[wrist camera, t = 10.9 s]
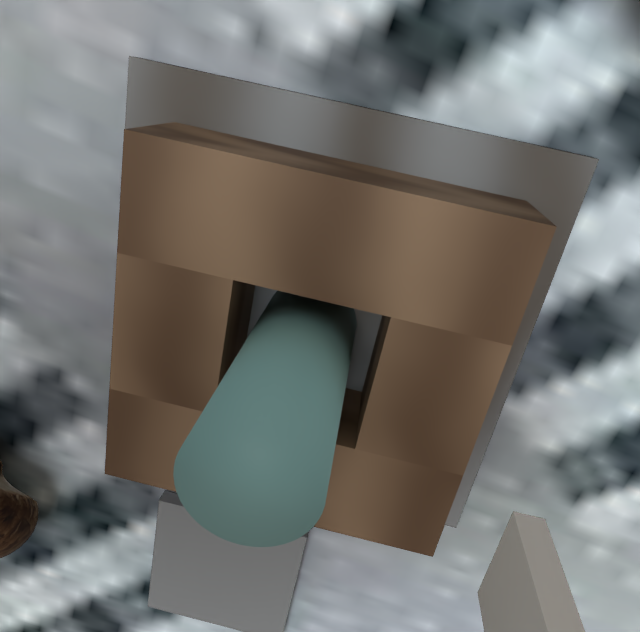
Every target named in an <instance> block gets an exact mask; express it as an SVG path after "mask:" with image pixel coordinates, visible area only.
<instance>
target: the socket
mask: <svg viewBox="0 0 640 632" xmlns="http://www.w3.org/2000/svg"><path fill="white" fill-rule="evenodd" d="M598 161H599V159H596V158H593V157H589V156H585V155H580V154H576V153H571V152H567V151H562V150H557V149H553V148H548V147H544V146H539V145H535V144H530V143H526V142H521V141H516V140H512V139H507V138H503V137H498V136H494V135H489V134H485V133H480V132H475V131H471V130H466V129H462V128H457V127H453V126H448V125H444V124H439V123H434V122H430V121H425V120H421V119H416V118H412V117H407V116H403V115H398V114H393V113H389V112H384V111H380V110H375V109H371V108H366V107H362V106H357V105H352V104H348V103H343V102H339V101H334V100H330V99H325V98H321V97H316V96H311V95H307V94H302V93H298V92H293V91H289V90H284V89H280V88H275V87H270V86H266V85H261V84H257V83H252V82H248V81H243V80H239V79H234V78H229V77H225V76H220V75H216V74H211V73H207V72H202V71H198V70H193V69H188V68H184V67H179V66H175V65H170V64H166V63H161V62H156V61H152V60H147V59H143V58H138V57H131V56H129V67H128V84H127V102H126V119H125V129H124V142H123V160H122V177H121V195H120V213H119V230H118V248H117V266H116V283H115V301H114V319H113V336H112V354H111V372H110V389H109V407H108V424H107V442H106V460H105V474H108V475H112V476H116V477H120V478H124V479H127V480H131V481H135V482H139V483H143V484H147V485H151V486H155V487H159V488H163V489H167V490H171V491H175V492H176V488H175V485H174V477H173V472H174V463H175V459H176V456H177V454H178V451H179V450H180V448H181V446H182V444H183V443H184V441H185V440H186V438H187V436H188V435H189V433H190V431H191V430H192V428H193V426H194V425H195V423H196V421H197V420H198V418H199V417H200V415H201V413H202V412H203V410H204V408H205V407H206V405H207V403H208V402H209V400H210V399H211V397H212V395H213V394H214V392H215V390H216V389H217V387H218V385H219V384H220V382H221V380H222V379H223V377H224V376H225V374H226V372H227V371H228V369H229V367H230V366H231V364H232V362H233V361H234V359H235V357H236V356H237V354H238V353H239V351H240V349H241V348H242V346H243V344H244V343H245V341H246V339H247V338H248V336H249V334H250V333H251V331H252V330H253V328H254V326H255V325H256V323H257V321H258V320H259V318H260V316H261V315H262V313H263V311H264V310H265V308H266V307H267V305H268V303H269V302H270V300H271V298H272V297H273V295H274V294H275V293H276V292H277V291H282V292H286V293H290V294H294V295H299V296H303V297H307V298H311V299H316V300H320V301H324V302H328V303H333V304H337V305H341V306H345V307H350V308H354V310H355V314H356V321H357V325H356V332H355V338H354V344H353V349H352V355H351V361H350V366H349V372H348V378H347V383H346V389H345V395H344V400H343V406H342V412H341V417H340V423H339V429H338V435H337V440H336V446H335V452H334V457H333V463H332V469H331V474H330V480H329V486H328V491H327V497H326V503H325V507H324V510H323V513H322V515H321V517H320V518H319V520H318V521H317V523H316V524H315V525H314V527H317V528H321V529H325V530H329V531H333V532H337V533H341V534H345V535H349V536H353V537H357V538H361V539H365V540H369V541H373V542H377V543H381V544H384V545H388V546H392V547H396V548H400V549H404V550H408V551H412V552H416V553H420V554H424V555H428V556H432V557H433V555H434V552H435V549H436V547H437V544H438V541H439V539H440V536H441V533H442V531H443V528H444V525H447V526H451V527H455V528H456V527H457V524H458V522H459V519H460V516H461V514H462V511H463V509H464V506H465V504H466V501H467V498H468V496H469V493H470V491H471V488H472V486H473V483H474V480H475V478H476V475H477V473H478V470H479V468H480V465H481V462H482V460H483V457H484V455H485V452H486V449H487V447H488V444H489V442H490V439H491V437H492V434H493V431H494V429H495V426H496V424H497V421H498V419H499V416H500V413H501V411H502V408H503V406H504V403H505V400H506V398H507V395H508V393H509V390H510V388H511V385H512V382H513V380H514V377H515V375H516V372H517V370H518V367H519V364H520V362H521V359H522V357H523V354H524V352H525V349H526V346H527V344H528V341H529V339H530V336H531V333H532V331H533V328H534V326H535V323H536V321H537V318H538V315H539V313H540V310H541V308H542V305H543V303H544V300H545V297H546V295H547V292H548V290H549V287H550V284H551V282H552V279H553V277H554V274H555V272H556V269H557V266H558V264H559V261H560V259H561V256H562V254H563V251H564V248H565V246H566V243H567V241H568V238H569V235H570V233H571V230H572V228H573V225H574V223H575V220H576V217H577V215H578V212H579V210H580V207H581V205H582V202H583V199H584V197H585V194H586V192H587V189H588V187H589V184H590V181H591V179H592V176H593V174H594V171H595V168H596V166H597V163H598Z"/></svg>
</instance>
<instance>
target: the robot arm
mask: <svg viewBox="0 0 640 632" xmlns="http://www.w3.org/2000/svg"><path fill="white" fill-rule="evenodd" d="M478 597H479V603H480V609H481V615H482V621H483V626H484V632H585V630H584V627H583V624H582V622H581V619H580V616H579V613H578V610H577V608H576V605H575V602H574V599H573V596H572V594H571V591H570V588H569V585H568V582H567V579H566V577H565V574H564V571H563V568H562V565H561V563H560V560H559V557H558V554H557V551H556V549H555V546H554V543H553V540H552V537H551V534H550V532H549V529H548V526H547V523H546V520H545V519H543V518H539V517H535V516H530V515H526V514H522V513H518V512H514V511H513V513H512V515H511V518H510V520H509V522H508V524H507V527H506V529H505V531H504V534H503V536H502V538H501V540H500V543H499V545H498V547H497V549H496V552H495V554H494V556H493V559H492V561H491V563H490V565H489V568H488V570H487V572H486V574H485V577H484V579H483V581H482V584H481V586H480V588H479V590H478Z"/></svg>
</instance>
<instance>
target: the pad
mask: <svg viewBox="0 0 640 632" xmlns="http://www.w3.org/2000/svg"><path fill="white" fill-rule="evenodd" d="M307 535H308V532H307V533H306V534H304V535H303V536H301V537H300V538H298V539H296V540H294V541H292V542H289V543H286V544H283V545H278V546H272V547H251V546H244V545H239V544H236V543H232V542H229V541H227V540H224V539H222V538H220V537H218V536H216V535H214V534H212V533H211V532H209V531H208V530H206V529H205V528H203V527H202V526H201V525H200V524H199V523H197V522H196V521H195V520H194V519H193V518H192V517H191V516H190V514H189V513H188V512H187V510H186V509H185V508H184V506H183V504H182V503H181V501H180V499H179V497H178V494H177V493H173V492H169V491H164V493H163V495H162V496H161V498H160V500H159V506H158V515H157V524H156V534H155V543H154V552H153V562H152V571H151V580H150V589H149V599H148V607H152V608H156V609H160V610H164V611H167V612H171V613H175V614H179V615H183V616H186V617H190V618H194V619H198V620H202V621H205V622H209V623H213V624H217V625H221V626H224V627H228V628H232V629H236V630H240V631H244V632H283V631H284V627H285V623H286V619H287V615H288V611H289V607H290V603H291V599H292V595H293V591H294V588H295V584H296V580H297V576H298V572H299V568H300V564H301V560H302V556H303V552H304V548H305V544H306V540H307Z"/></svg>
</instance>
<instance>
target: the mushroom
mask: <svg viewBox="0 0 640 632" xmlns="http://www.w3.org/2000/svg"><path fill="white" fill-rule="evenodd" d="M2 468H3V463H2V462H1V461H0V558H2V557H4V556H6V555H9V554H11V553H12V552H14V551H15V550H17V549H18V548H20V547H21V546H22V545H23V544H24V543H25V542H26V541H27V540H28V538H29V537H30V536H31V534H32V533H33V531H34V529H35V526H36V524H37V520H38V505H37V502H36V501H35V500H33V499H32V498H31V497H29V496H28V495H26V494H24V493H22V492H20V491H19V490H17V489H16V488H14V487H13V486H12V485H11V484H10V483H9V482H8V481H7V480H6V479H5V478H4V476H3V474H2Z"/></svg>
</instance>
